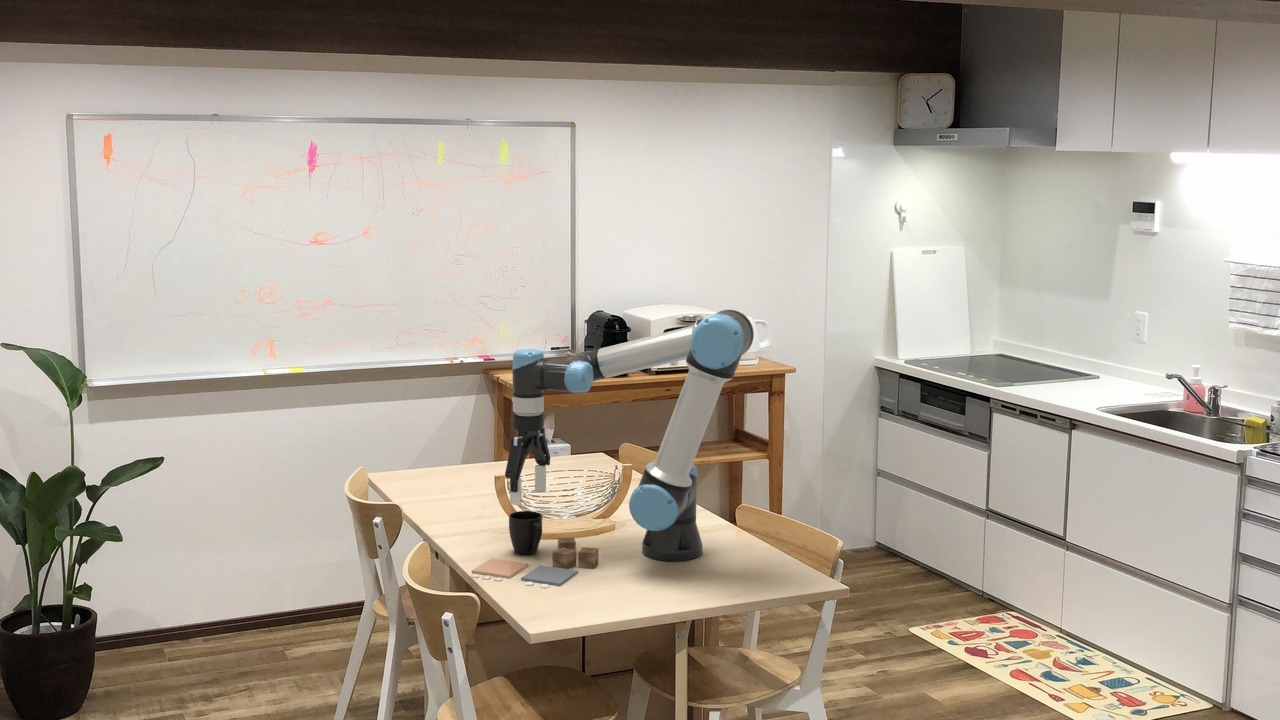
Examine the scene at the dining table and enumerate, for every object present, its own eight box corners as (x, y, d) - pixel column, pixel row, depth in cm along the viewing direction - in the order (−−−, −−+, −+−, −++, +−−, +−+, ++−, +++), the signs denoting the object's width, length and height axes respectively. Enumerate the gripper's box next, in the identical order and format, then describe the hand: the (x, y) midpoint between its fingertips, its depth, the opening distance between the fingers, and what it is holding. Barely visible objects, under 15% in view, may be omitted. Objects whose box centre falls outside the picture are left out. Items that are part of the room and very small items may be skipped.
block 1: (574, 553, 307) (574, 537, 306) (575, 558, 303) (575, 542, 302) (558, 553, 306) (558, 538, 306) (559, 558, 302) (559, 543, 302)
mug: (523, 563, 298) (523, 525, 296) (503, 550, 308) (503, 513, 307) (554, 558, 302) (554, 521, 300) (533, 545, 312) (533, 509, 311)
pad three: (528, 565, 296) (528, 563, 296) (503, 582, 284) (503, 579, 284) (491, 560, 300) (491, 558, 300) (465, 576, 288) (465, 573, 288)
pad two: (577, 572, 292) (578, 570, 291) (554, 589, 280) (554, 587, 280) (539, 567, 295) (539, 565, 295) (515, 583, 283) (515, 581, 283)
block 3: (598, 564, 299) (598, 548, 298) (594, 569, 295) (594, 553, 294) (582, 562, 299) (582, 547, 299) (578, 568, 296) (578, 551, 295)
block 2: (575, 566, 297) (575, 550, 296) (565, 570, 293) (565, 554, 293) (563, 563, 299) (563, 547, 298) (552, 567, 296) (552, 551, 295)
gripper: (536, 402, 312) (536, 484, 315) (490, 421, 289) (490, 508, 292) (563, 405, 309) (563, 487, 313) (518, 423, 287) (519, 512, 290)
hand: (528, 497), depth 303 cm, fingers open, 13 cm apart
